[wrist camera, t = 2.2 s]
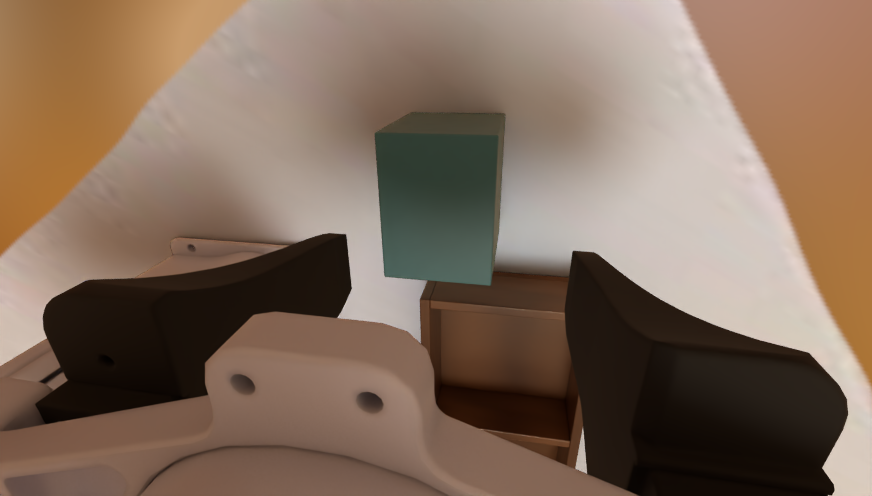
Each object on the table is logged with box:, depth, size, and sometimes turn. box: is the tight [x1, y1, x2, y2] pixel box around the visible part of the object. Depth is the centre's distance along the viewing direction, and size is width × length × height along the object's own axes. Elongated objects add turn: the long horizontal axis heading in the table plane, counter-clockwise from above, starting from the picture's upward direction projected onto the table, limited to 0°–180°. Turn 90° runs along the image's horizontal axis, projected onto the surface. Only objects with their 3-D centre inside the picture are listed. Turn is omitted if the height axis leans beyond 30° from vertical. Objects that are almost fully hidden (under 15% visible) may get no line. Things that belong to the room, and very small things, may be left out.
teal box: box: [375, 112, 505, 286], centre depth 19 cm, size 4×6×6 cm
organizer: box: [420, 272, 583, 469], centre depth 27 cm, size 8×24×4 cm, turn 1°
